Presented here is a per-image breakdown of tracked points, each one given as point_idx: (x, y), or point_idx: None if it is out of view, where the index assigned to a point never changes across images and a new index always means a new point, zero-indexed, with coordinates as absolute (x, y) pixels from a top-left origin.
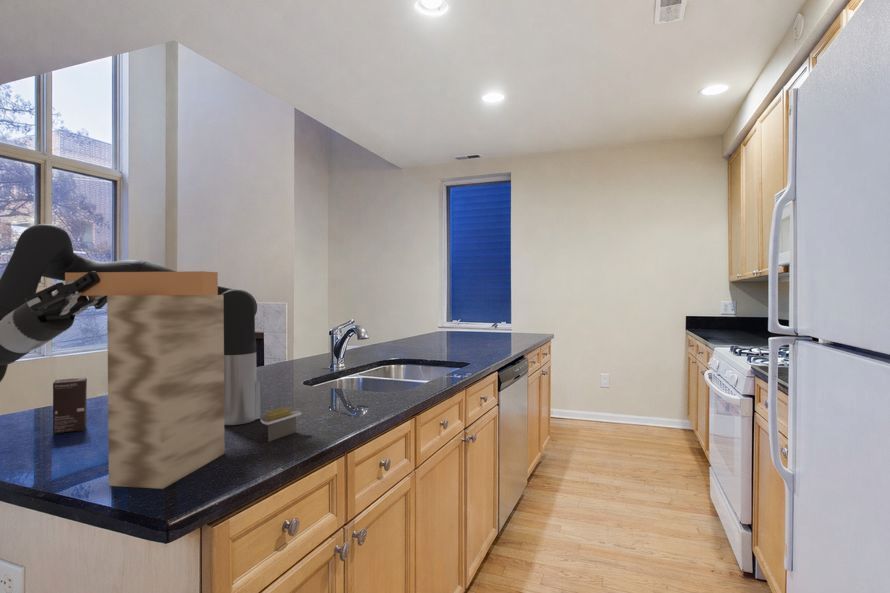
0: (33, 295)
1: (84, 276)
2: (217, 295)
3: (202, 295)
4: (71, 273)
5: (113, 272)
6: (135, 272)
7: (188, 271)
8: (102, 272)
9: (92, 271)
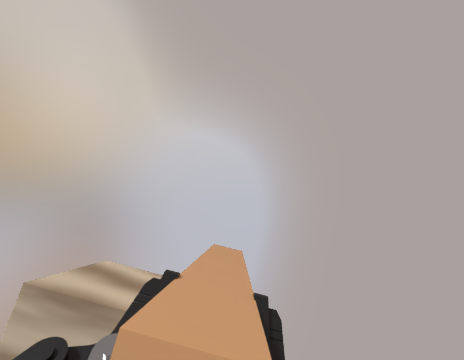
0: None
1: (280, 326)
2: (122, 265)
3: (160, 275)
4: (267, 349)
5: (249, 280)
6: (246, 268)
7: (242, 253)
8: (251, 289)
9: (266, 296)
